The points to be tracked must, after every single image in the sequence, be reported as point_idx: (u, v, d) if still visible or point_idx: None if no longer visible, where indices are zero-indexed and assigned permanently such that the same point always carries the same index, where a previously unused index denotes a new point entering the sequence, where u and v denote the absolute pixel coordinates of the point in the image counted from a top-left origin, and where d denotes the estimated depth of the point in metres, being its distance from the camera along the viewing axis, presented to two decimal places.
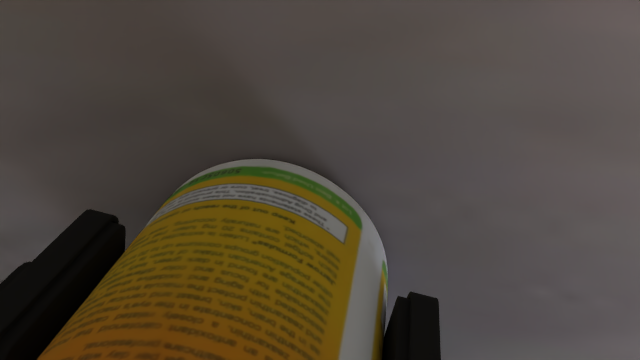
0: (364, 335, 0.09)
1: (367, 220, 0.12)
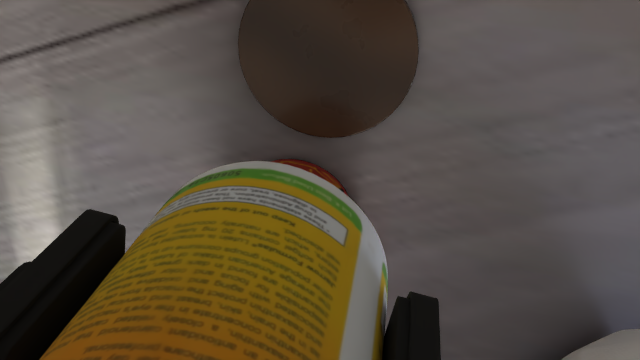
0: (364, 337, 0.09)
1: (367, 222, 0.12)
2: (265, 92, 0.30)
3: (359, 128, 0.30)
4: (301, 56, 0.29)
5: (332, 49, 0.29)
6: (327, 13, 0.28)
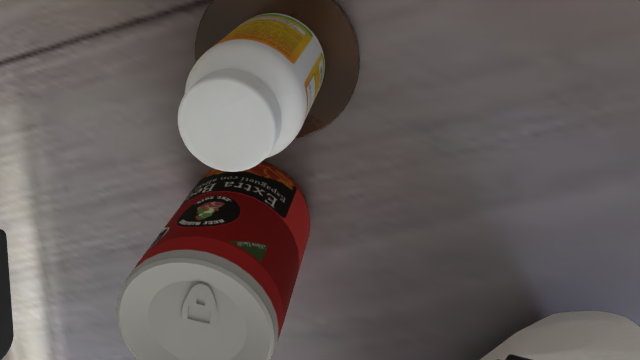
0: (310, 59, 0.27)
1: (315, 37, 0.30)
2: None
3: (308, 130, 0.33)
4: None
5: None
6: None
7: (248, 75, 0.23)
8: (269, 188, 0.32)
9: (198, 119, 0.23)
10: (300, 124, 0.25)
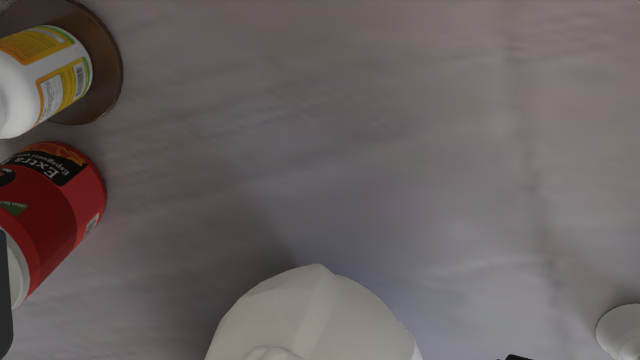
0: (57, 61, 0.36)
1: (79, 44, 0.38)
2: None
3: (90, 118, 0.41)
4: None
5: None
6: None
7: None
8: (54, 163, 0.40)
9: None
10: (33, 111, 0.33)
